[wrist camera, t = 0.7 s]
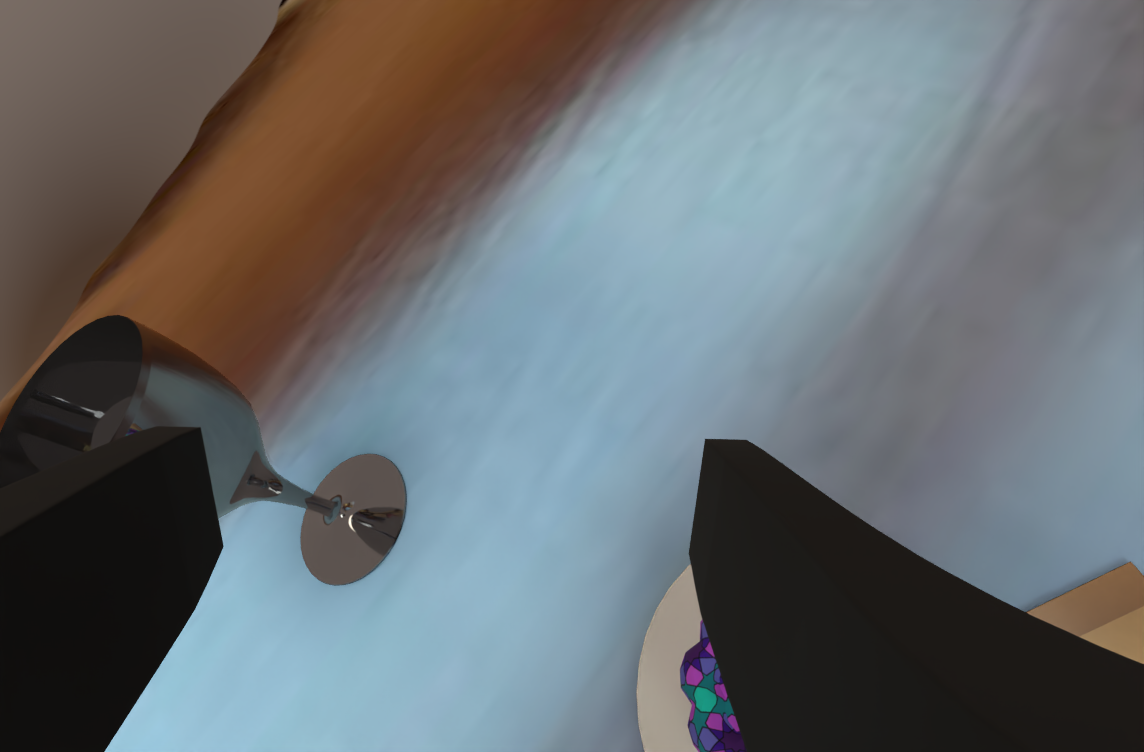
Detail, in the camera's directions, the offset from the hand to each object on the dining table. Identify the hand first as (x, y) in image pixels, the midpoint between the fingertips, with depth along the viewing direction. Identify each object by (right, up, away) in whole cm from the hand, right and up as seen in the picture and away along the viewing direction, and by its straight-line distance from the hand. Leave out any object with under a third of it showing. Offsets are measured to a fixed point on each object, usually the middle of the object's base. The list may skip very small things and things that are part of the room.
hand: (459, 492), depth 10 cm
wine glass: (-10, -6, +27) cm, 29 cm away
